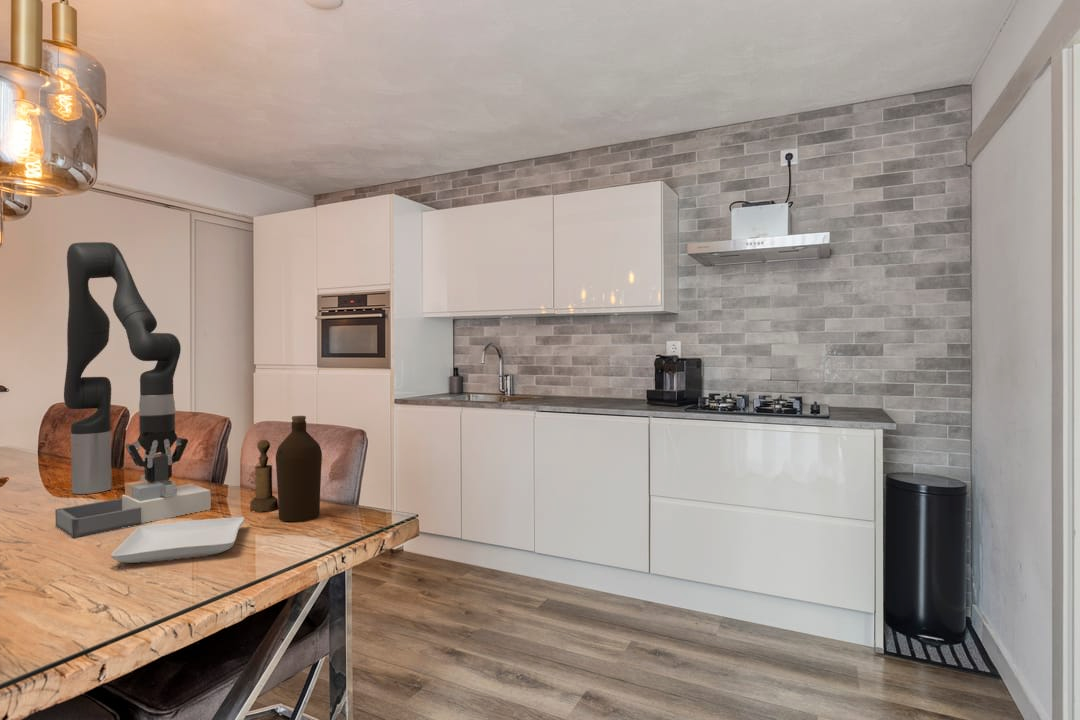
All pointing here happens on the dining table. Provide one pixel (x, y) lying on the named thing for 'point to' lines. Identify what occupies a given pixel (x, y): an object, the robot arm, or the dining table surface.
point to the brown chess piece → (263, 482)
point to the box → (96, 518)
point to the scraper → (162, 476)
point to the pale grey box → (146, 492)
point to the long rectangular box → (171, 503)
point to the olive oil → (298, 474)
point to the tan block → (129, 485)
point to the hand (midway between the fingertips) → (158, 480)
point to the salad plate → (179, 540)
